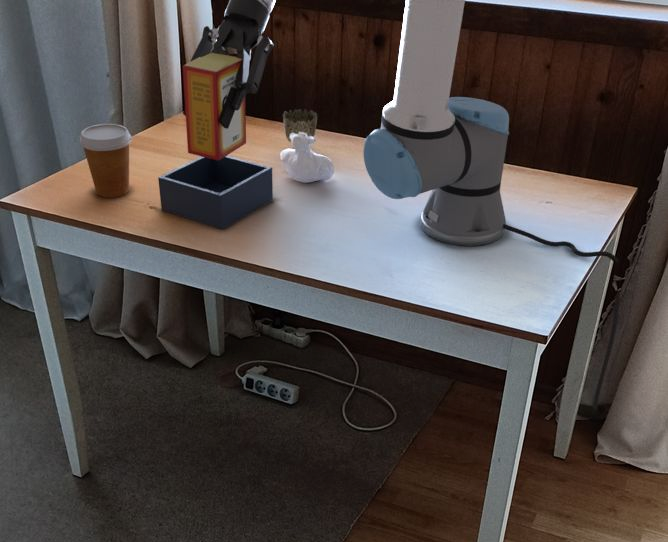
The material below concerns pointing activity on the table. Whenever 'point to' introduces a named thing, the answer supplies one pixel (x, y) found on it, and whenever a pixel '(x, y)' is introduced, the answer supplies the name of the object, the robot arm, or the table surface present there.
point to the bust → (305, 160)
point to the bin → (216, 190)
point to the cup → (299, 123)
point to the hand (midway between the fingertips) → (205, 120)
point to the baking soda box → (212, 106)
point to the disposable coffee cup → (108, 158)
